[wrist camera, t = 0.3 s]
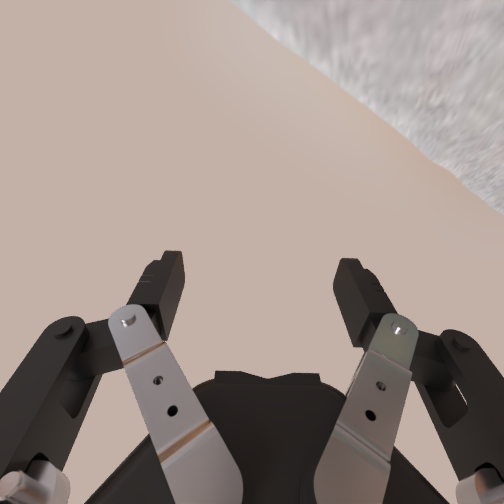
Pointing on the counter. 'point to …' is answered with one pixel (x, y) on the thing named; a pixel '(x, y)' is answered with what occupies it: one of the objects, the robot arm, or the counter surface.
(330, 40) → the counter surface
